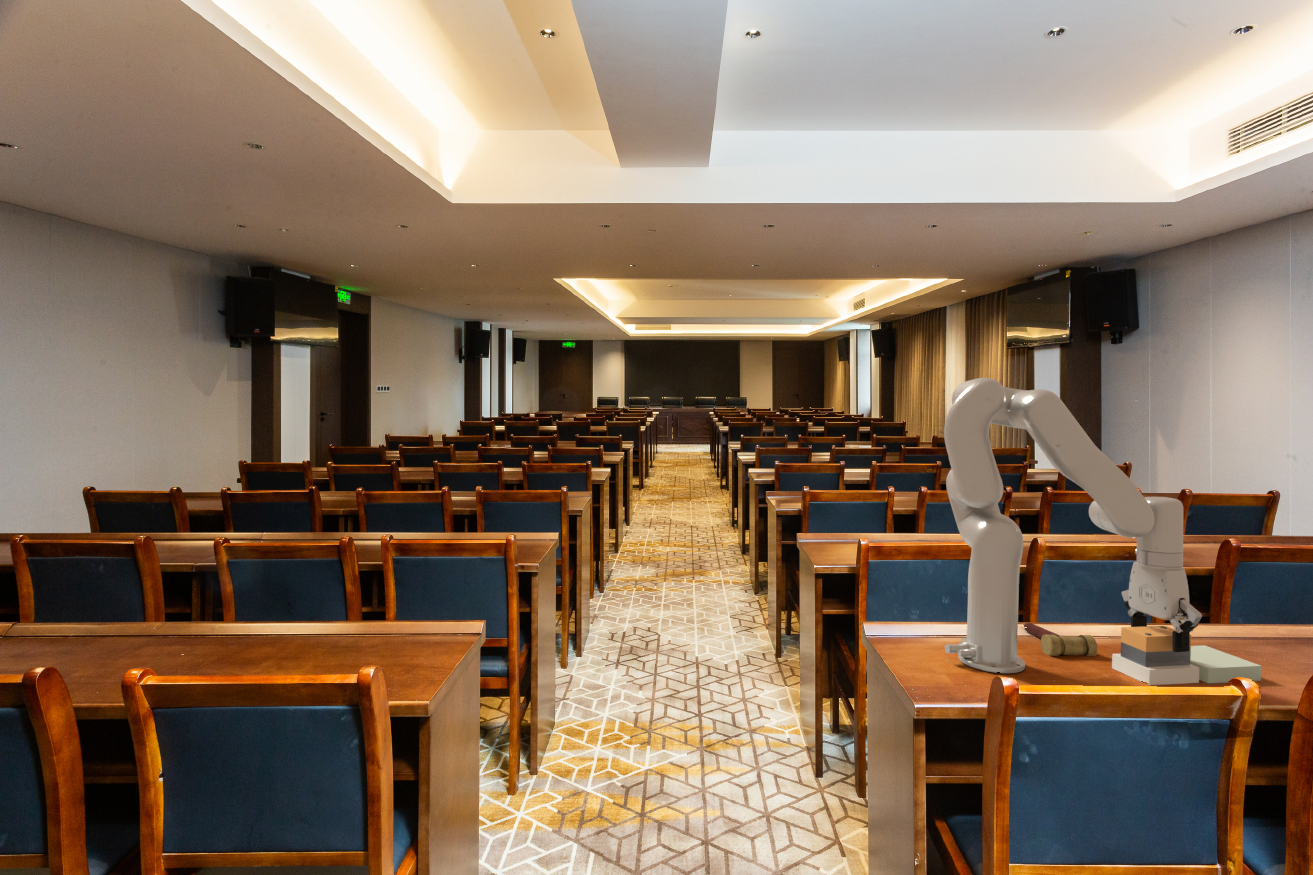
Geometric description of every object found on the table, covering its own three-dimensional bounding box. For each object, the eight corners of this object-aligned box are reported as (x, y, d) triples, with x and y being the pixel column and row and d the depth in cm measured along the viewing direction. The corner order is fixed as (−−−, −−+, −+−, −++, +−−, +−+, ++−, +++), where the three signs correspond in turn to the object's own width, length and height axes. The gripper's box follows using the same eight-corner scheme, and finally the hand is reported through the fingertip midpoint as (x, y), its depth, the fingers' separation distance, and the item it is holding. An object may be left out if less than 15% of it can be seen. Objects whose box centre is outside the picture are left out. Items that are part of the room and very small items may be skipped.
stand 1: (1149, 685, 132) (1149, 669, 132) (1111, 667, 141) (1112, 653, 141) (1198, 682, 133) (1199, 667, 133) (1158, 665, 142) (1159, 651, 142)
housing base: (1145, 666, 133) (1145, 651, 133) (1120, 656, 139) (1121, 641, 139) (1190, 664, 135) (1190, 649, 134) (1163, 654, 141) (1164, 639, 140)
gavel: (1002, 615, 168) (1042, 615, 168) (1002, 633, 167) (1042, 634, 167) (1052, 637, 147) (1098, 637, 147) (1052, 658, 146) (1098, 659, 146)
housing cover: (1145, 651, 133) (1146, 635, 133) (1121, 641, 139) (1121, 626, 139) (1190, 649, 134) (1191, 634, 134) (1164, 639, 140) (1164, 624, 140)
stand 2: (1208, 683, 133) (1208, 668, 133) (1154, 661, 145) (1155, 647, 145) (1260, 680, 135) (1261, 665, 135) (1204, 658, 147) (1204, 645, 146)
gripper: (1108, 551, 144) (1108, 631, 145) (1182, 569, 127) (1181, 659, 128) (1139, 549, 145) (1139, 629, 146) (1217, 567, 128) (1216, 656, 129)
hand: (1159, 643), depth 137 cm, fingers open, 9 cm apart
